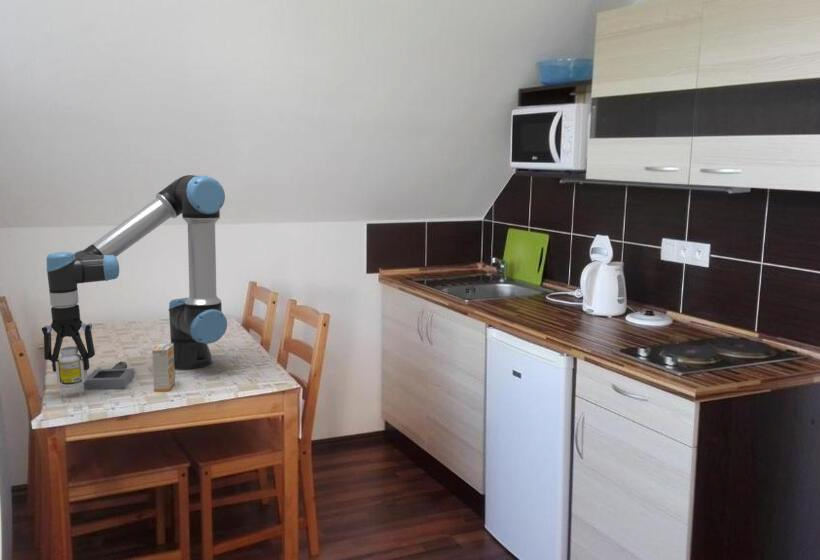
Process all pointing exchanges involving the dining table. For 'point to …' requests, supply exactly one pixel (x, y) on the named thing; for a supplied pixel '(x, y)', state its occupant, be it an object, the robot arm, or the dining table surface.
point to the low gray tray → (110, 378)
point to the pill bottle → (70, 367)
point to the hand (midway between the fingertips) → (72, 381)
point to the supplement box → (163, 367)
